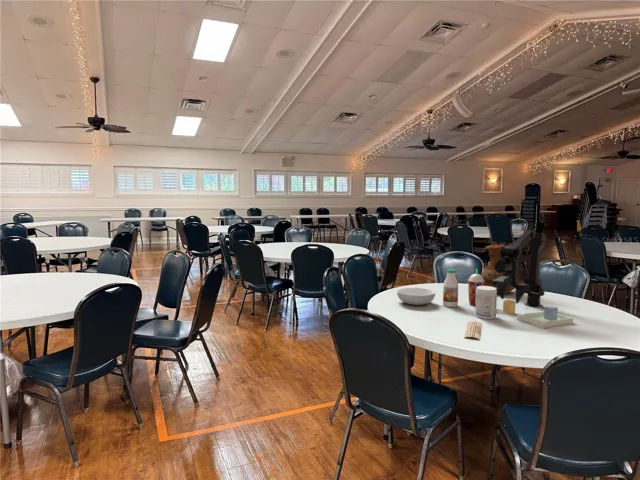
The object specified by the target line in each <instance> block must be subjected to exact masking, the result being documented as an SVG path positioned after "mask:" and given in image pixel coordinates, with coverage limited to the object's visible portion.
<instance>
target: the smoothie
mask: <svg viewBox="0 0 640 480" xmlns="http://www.w3.org/2000/svg"><path fill="white" fill-rule="evenodd" d="M481 275H482V274H480V273H478V268H476V269H475V273H473V274H471V275H470V276H469V278H468V279H467V284H468V289H467V290H468V302H469V305H470V306H472V307H473V306H475V307H476V287H478V286H484V279H483V277H482V276H481Z"/></svg>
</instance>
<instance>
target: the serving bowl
mask: <svg viewBox="0 0 640 480" xmlns="http://www.w3.org/2000/svg"><path fill="white" fill-rule="evenodd" d="M396 295H397V297H398V298H399V301H401V302H403V303H405V304H408V305H411V304H412V305H411V306H423V305H427V304H430V303H432V301H434V299H435V297H436V292H435V290H432V289H430V288H423V287H404V288H400V289H397V290H396Z"/></svg>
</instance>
